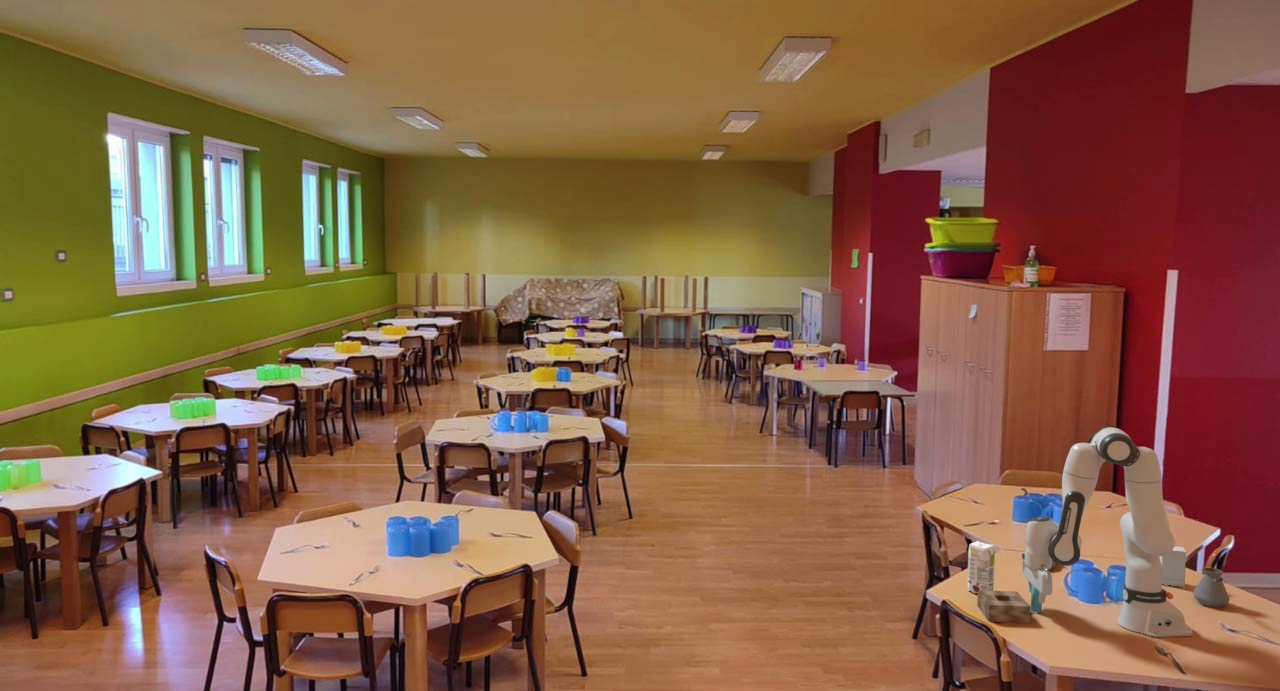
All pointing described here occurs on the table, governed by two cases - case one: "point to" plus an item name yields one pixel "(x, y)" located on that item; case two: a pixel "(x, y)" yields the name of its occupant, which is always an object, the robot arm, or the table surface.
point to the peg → (1035, 601)
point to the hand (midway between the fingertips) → (1036, 597)
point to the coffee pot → (1211, 589)
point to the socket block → (1003, 606)
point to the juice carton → (981, 567)
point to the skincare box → (1174, 567)
